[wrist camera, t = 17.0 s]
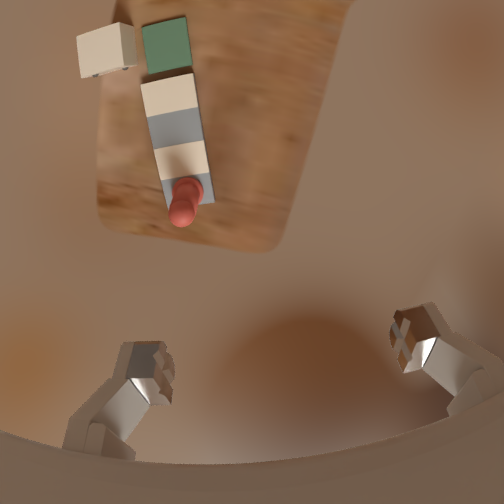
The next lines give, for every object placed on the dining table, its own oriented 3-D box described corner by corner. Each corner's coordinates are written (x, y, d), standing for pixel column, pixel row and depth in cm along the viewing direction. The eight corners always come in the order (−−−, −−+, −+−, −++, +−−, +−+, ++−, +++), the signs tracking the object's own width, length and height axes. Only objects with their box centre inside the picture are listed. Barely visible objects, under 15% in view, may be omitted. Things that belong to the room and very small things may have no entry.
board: (143, 84, 30) (140, 84, 29) (193, 73, 29) (192, 73, 29) (169, 205, 39) (168, 209, 38) (215, 198, 38) (214, 202, 38)
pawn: (170, 179, 35) (157, 206, 30) (200, 174, 35) (194, 200, 30) (176, 207, 38) (166, 238, 32) (206, 203, 38) (201, 233, 32)
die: (134, 24, 25) (92, 36, 25) (119, 19, 21) (73, 35, 21) (138, 67, 28) (97, 78, 28) (124, 68, 24) (79, 81, 24)
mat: (142, 27, 26) (141, 27, 25) (185, 17, 26) (185, 17, 25) (149, 74, 29) (148, 74, 29) (192, 64, 29) (192, 64, 29)
